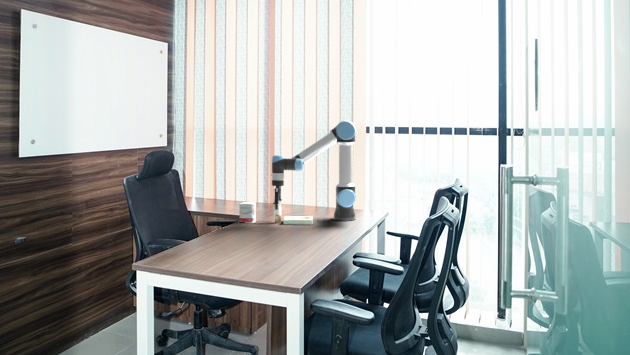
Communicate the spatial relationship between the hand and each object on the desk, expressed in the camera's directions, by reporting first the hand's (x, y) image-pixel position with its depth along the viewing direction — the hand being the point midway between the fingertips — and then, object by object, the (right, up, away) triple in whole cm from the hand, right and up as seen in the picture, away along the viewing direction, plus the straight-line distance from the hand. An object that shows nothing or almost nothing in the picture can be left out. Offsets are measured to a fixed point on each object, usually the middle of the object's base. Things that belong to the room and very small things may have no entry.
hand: (277, 212), depth 309 cm
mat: (-20, -6, +4) cm, 21 cm away
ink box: (-20, -6, +4) cm, 21 cm away
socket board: (+13, -6, 0) cm, 15 cm away
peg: (0, -6, +1) cm, 6 cm away
